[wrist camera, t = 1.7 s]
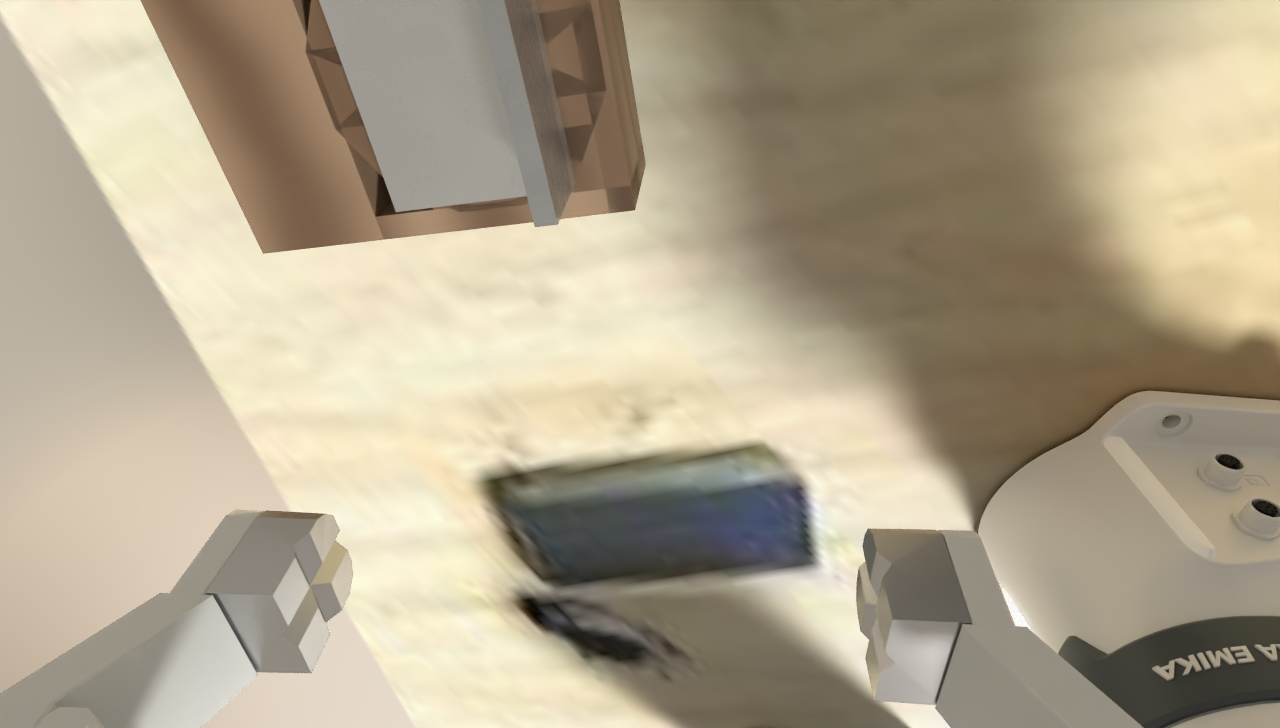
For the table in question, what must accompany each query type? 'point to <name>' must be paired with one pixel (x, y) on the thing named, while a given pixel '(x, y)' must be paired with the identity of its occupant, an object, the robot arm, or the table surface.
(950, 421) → the table surface
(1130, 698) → the robot arm
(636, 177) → the socket block
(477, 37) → the panel
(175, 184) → the table surface
